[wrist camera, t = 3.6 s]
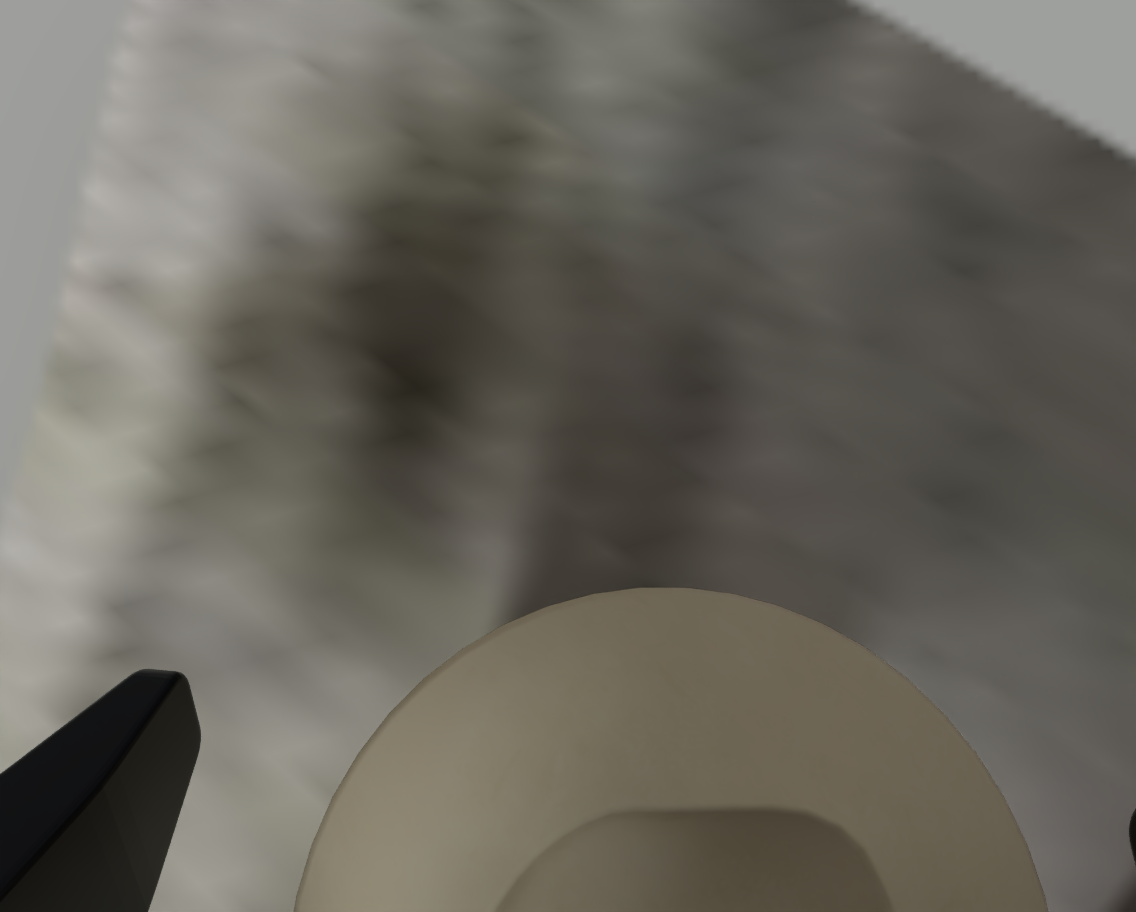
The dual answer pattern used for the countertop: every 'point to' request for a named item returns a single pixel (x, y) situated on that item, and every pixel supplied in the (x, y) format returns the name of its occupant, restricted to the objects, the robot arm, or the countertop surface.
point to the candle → (667, 776)
